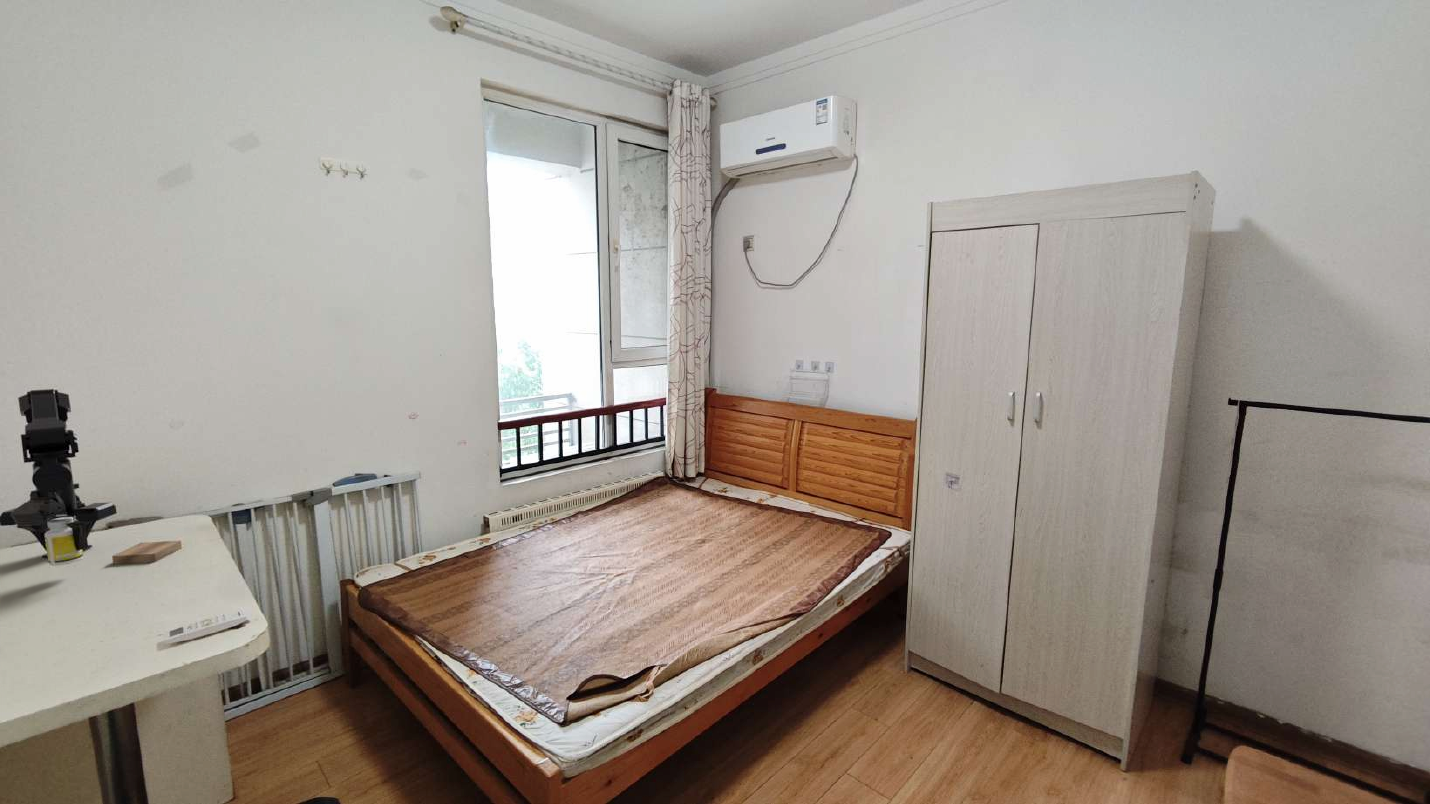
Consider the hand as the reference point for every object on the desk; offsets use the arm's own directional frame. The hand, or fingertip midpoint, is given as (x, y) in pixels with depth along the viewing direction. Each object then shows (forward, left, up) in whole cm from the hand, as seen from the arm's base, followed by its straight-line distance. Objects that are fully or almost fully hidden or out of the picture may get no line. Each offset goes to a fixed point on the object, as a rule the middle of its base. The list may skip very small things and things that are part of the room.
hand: (64, 550), depth 138 cm
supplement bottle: (0, 0, -3) cm, 3 cm away
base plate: (+8, +12, -6) cm, 16 cm away
